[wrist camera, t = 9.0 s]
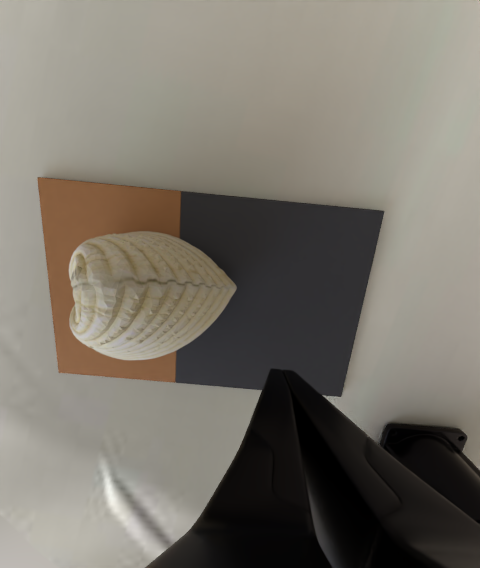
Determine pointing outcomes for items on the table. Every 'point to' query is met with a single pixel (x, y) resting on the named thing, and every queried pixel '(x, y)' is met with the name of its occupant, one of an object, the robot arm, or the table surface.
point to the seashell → (143, 294)
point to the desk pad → (238, 267)
